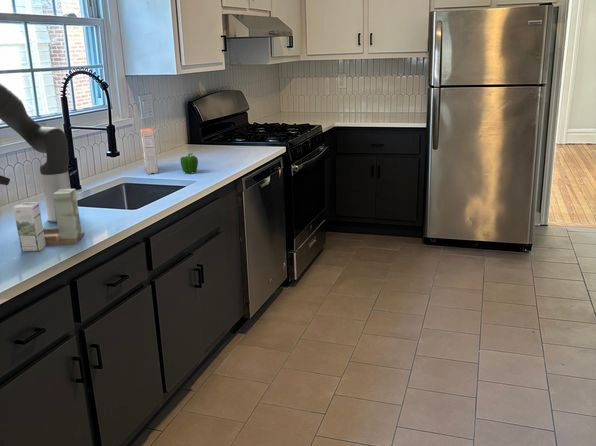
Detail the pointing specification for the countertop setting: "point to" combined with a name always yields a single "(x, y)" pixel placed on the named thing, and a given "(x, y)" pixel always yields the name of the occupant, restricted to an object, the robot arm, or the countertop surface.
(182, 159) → the bell pepper
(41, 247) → the syrup box
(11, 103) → the robot arm
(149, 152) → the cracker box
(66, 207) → the wooden tray with block
